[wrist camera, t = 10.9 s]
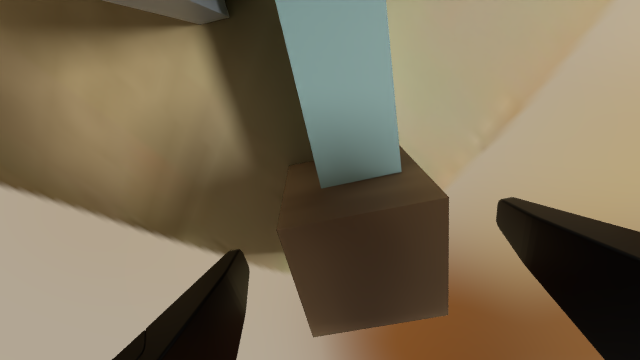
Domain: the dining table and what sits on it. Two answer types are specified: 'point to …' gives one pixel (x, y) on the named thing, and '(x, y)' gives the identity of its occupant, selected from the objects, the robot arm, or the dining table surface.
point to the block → (366, 247)
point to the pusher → (344, 85)
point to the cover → (181, 9)
